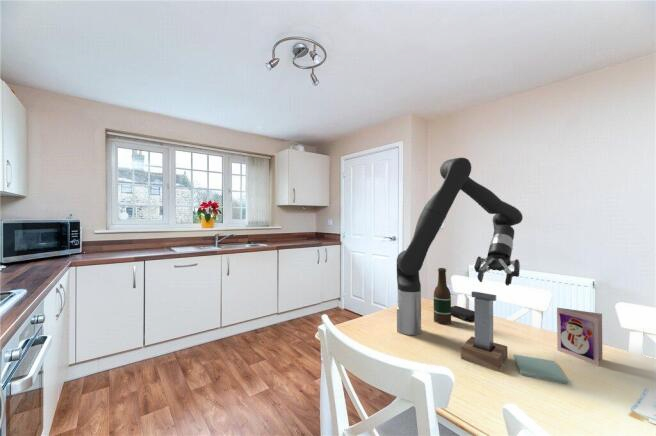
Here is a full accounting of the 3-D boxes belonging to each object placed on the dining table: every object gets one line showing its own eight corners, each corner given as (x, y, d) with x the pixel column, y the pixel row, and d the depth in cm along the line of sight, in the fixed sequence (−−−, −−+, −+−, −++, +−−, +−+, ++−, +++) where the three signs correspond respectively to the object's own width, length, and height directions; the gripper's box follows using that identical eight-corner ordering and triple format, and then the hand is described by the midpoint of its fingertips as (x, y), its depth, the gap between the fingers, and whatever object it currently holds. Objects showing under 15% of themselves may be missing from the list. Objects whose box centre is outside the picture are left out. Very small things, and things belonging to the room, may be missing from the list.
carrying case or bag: (441, 313, 135) (469, 323, 122) (441, 307, 135) (468, 317, 122) (455, 310, 140) (483, 319, 127) (455, 304, 140) (483, 312, 127)
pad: (521, 374, 81) (521, 372, 81) (513, 356, 92) (513, 354, 92) (568, 384, 77) (568, 381, 77) (554, 363, 88) (554, 360, 88)
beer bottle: (454, 324, 120) (454, 270, 120) (437, 324, 120) (436, 270, 120) (447, 318, 128) (447, 266, 128) (430, 318, 128) (430, 266, 128)
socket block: (471, 347, 99) (471, 336, 99) (507, 358, 91) (507, 346, 91) (460, 358, 91) (460, 346, 91) (498, 371, 83) (498, 358, 83)
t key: (474, 352, 95) (474, 290, 95) (498, 359, 90) (497, 294, 90) (470, 357, 92) (470, 293, 92) (494, 364, 87) (493, 297, 87)
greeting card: (555, 350, 96) (555, 307, 96) (569, 346, 99) (568, 305, 99) (596, 366, 86) (596, 318, 86) (610, 362, 88) (610, 315, 88)
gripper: (478, 241, 111) (469, 273, 103) (520, 242, 101) (514, 279, 93) (482, 252, 115) (474, 285, 106) (524, 255, 104) (518, 291, 96)
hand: (493, 282), depth 99 cm, fingers open, 8 cm apart
